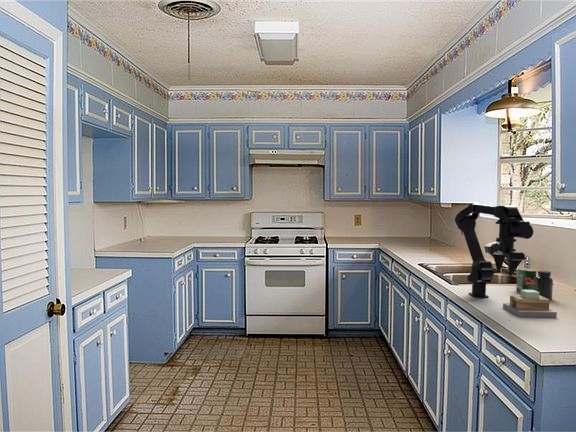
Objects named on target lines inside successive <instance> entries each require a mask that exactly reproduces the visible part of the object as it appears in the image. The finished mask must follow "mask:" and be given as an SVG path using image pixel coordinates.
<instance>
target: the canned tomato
mask: <svg viewBox="0 0 576 432" xmlns="http://www.w3.org/2000/svg"><path fill="white" fill-rule="evenodd" d="M516 270H517V272H516V288H515V289H516V290H515V291H516V293H519V294H520V293H521V290H535V278H536V277H537V273H538V270H537V269H536V268H530V267H529V268H528V267H517V268H516Z"/></svg>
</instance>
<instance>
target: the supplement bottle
mask: <svg viewBox="0 0 576 432" xmlns="http://www.w3.org/2000/svg"><path fill="white" fill-rule="evenodd" d="M551 273H552V272H551V271H549V270H537V276H536V278H535V291H537V292H539V296H542V297H545V298H547V299H549V300H550V301H551V300H552V299H553V291H554V290H553V289H554V279H553V278H552V277H551V276H552V275H551Z"/></svg>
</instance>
